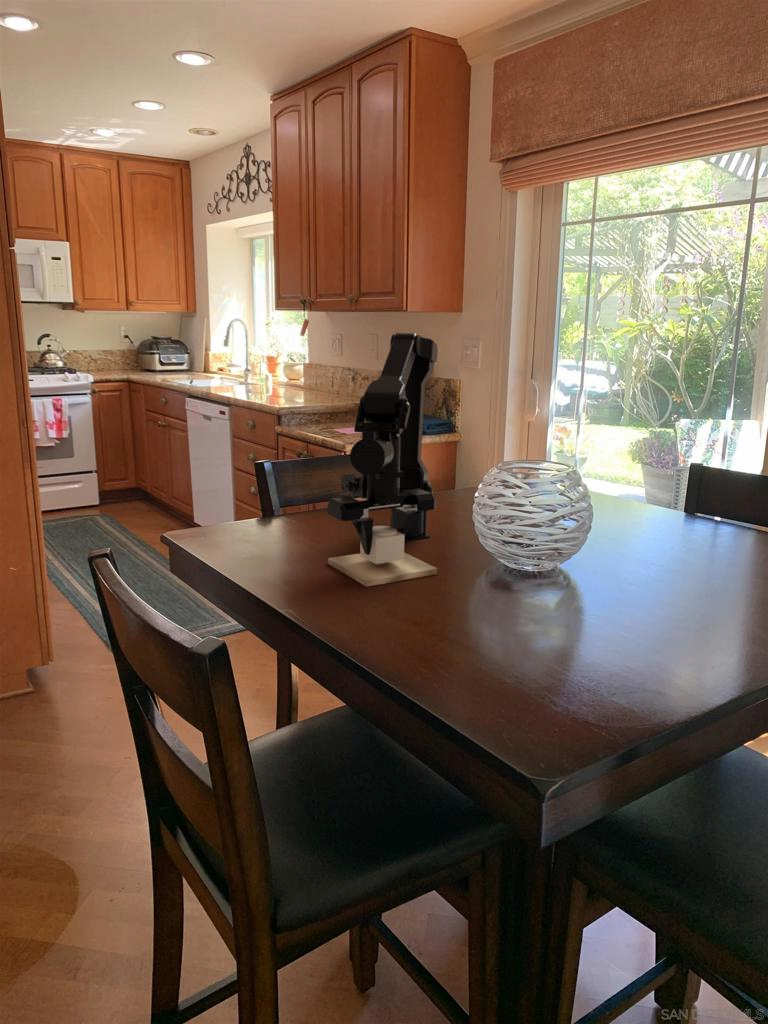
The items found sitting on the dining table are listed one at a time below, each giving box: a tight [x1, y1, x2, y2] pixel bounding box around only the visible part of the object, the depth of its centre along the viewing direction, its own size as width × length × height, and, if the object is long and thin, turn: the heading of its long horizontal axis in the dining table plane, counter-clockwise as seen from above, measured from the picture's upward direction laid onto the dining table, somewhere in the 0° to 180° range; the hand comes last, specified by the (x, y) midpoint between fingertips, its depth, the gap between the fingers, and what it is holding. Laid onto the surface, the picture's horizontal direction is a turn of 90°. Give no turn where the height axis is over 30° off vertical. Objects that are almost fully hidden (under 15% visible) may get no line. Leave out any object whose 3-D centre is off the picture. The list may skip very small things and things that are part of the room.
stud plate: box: [327, 552, 438, 587], centre depth 132 cm, size 14×14×4 cm
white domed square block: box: [359, 525, 405, 564], centre depth 132 cm, size 6×6×5 cm
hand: (381, 551), depth 132 cm, fingers closed on white domed square block, 6 cm apart
